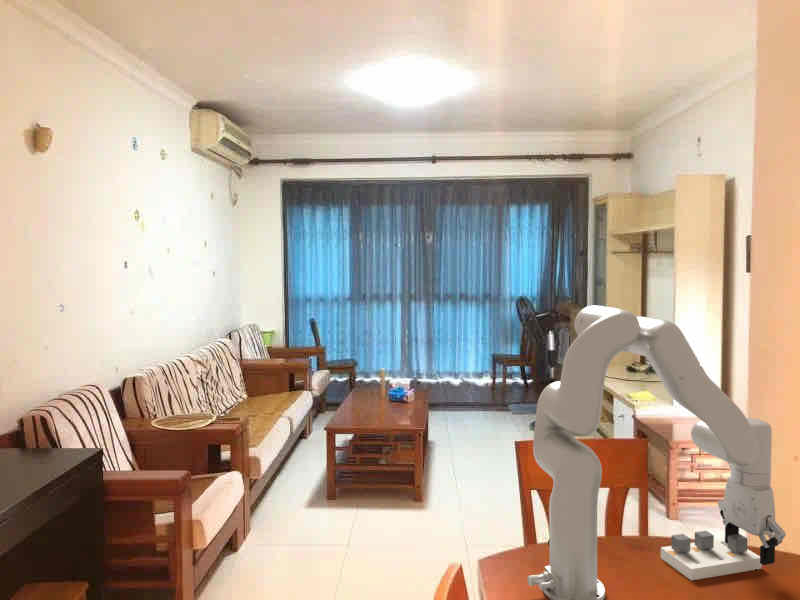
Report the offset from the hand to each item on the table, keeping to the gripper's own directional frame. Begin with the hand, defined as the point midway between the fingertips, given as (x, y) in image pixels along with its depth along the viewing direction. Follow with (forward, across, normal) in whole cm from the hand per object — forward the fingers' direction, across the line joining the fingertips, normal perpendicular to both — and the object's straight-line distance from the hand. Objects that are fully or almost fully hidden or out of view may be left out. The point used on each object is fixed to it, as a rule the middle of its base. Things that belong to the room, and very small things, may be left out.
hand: (748, 552), depth 132 cm
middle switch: (+1, -7, -6) cm, 9 cm away
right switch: (+1, -3, 0) cm, 3 cm away
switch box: (+4, -5, -6) cm, 8 cm away
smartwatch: (+4, -18, -36) cm, 40 cm away
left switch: (+1, -7, -12) cm, 14 cm away
